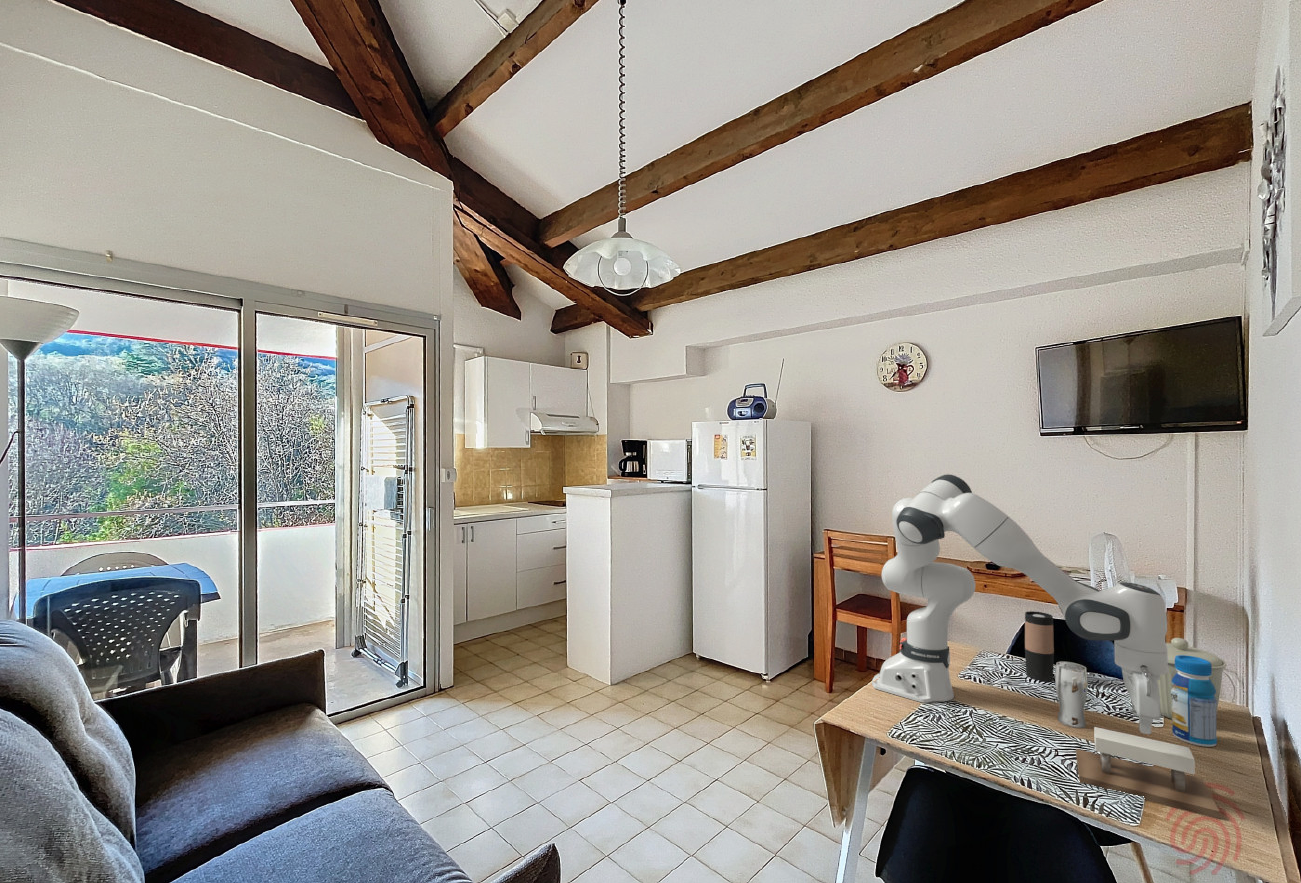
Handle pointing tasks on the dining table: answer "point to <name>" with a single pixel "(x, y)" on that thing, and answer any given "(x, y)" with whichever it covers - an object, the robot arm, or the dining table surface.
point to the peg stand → (1147, 782)
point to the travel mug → (1039, 645)
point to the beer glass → (1071, 693)
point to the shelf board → (1144, 750)
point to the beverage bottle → (1193, 702)
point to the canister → (1164, 683)
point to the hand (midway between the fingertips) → (1141, 723)
